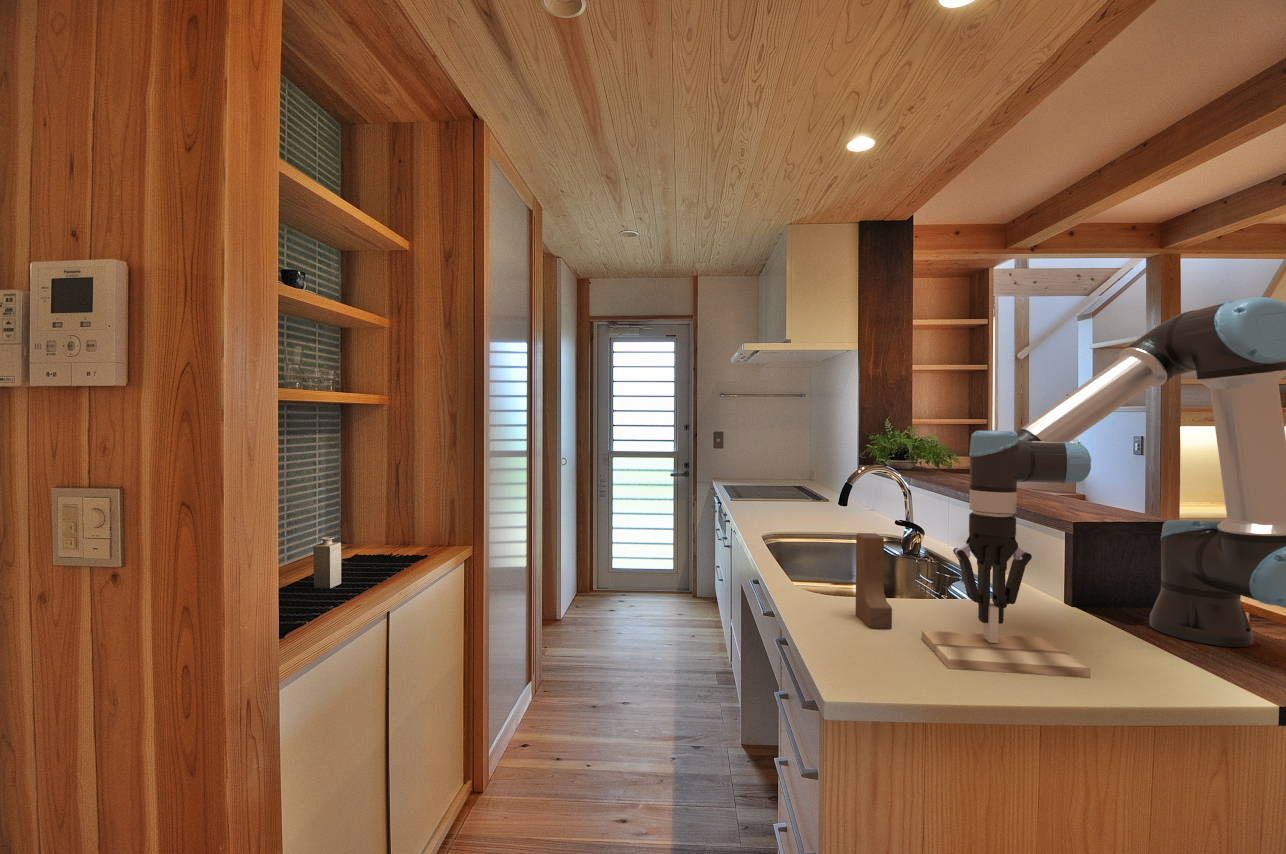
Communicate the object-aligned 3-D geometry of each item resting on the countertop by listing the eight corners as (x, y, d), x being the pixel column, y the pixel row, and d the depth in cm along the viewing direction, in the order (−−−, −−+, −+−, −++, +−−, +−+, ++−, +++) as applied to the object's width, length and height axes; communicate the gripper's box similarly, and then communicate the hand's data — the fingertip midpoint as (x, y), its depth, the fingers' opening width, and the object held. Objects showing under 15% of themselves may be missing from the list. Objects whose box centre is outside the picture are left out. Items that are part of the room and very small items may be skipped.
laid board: (1067, 661, 103) (1067, 652, 103) (1090, 677, 96) (1090, 667, 96) (935, 653, 106) (935, 644, 106) (948, 668, 100) (948, 658, 99)
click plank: (1044, 645, 110) (1044, 637, 110) (1065, 660, 103) (1065, 651, 103) (921, 638, 113) (921, 630, 113) (934, 652, 106) (934, 643, 106)
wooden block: (892, 629, 118) (893, 541, 118) (870, 629, 119) (871, 540, 119) (875, 615, 127) (876, 533, 127) (854, 614, 128) (855, 532, 128)
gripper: (1020, 511, 111) (1018, 635, 111) (947, 509, 113) (945, 630, 113) (1041, 517, 103) (1039, 650, 103) (962, 515, 105) (961, 645, 105)
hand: (990, 640), depth 108 cm, fingers closed
